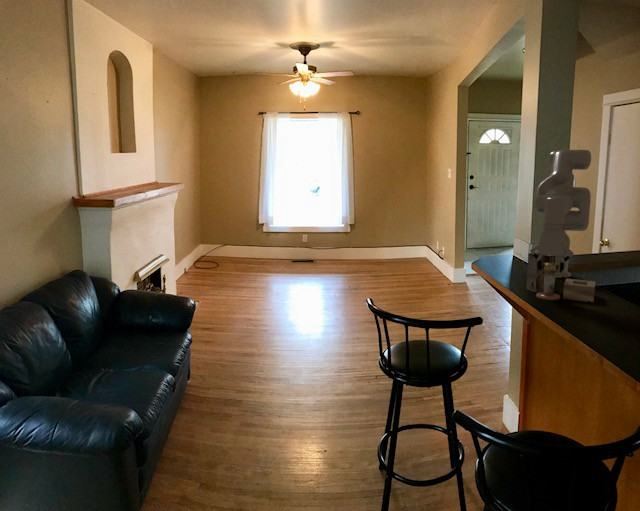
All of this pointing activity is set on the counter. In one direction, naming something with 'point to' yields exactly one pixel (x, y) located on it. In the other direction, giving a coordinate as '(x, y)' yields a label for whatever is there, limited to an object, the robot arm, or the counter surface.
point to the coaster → (541, 296)
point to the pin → (549, 277)
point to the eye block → (579, 290)
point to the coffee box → (536, 272)
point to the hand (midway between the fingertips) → (550, 270)
